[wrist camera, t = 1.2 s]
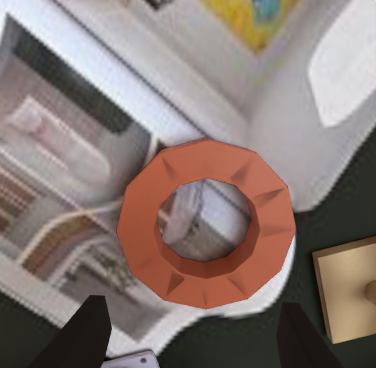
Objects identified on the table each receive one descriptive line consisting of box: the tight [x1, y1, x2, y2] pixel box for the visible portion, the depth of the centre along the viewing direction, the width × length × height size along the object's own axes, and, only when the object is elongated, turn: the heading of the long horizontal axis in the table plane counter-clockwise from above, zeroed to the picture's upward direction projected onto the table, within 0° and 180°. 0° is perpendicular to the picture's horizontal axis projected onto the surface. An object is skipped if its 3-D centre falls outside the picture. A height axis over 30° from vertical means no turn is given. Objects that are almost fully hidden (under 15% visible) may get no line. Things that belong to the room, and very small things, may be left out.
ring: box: [117, 138, 296, 309], centre depth 20 cm, size 12×12×2 cm
